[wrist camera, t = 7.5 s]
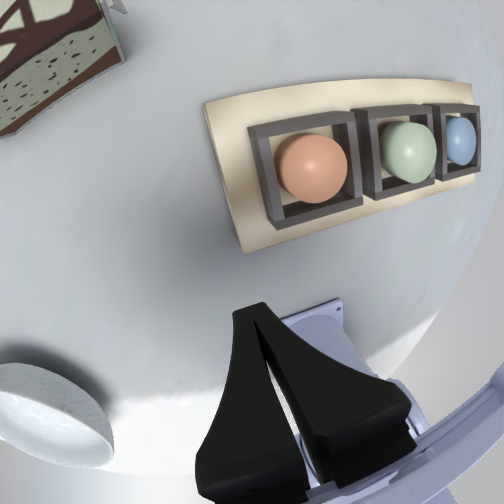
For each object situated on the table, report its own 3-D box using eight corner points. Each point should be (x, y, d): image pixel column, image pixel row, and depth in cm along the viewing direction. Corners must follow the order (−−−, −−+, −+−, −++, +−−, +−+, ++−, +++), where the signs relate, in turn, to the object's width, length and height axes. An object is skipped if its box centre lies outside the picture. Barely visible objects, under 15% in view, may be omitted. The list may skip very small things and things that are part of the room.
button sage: (420, 171, 18) (436, 177, 17) (380, 181, 18) (396, 188, 16) (417, 118, 16) (435, 121, 15) (375, 123, 16) (392, 126, 14)
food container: (121, -14, 11) (87, -91, 2) (147, 51, 14) (118, -6, 5) (-18, 81, 11) (-106, 87, 2) (3, 145, 14) (-88, 182, 5)
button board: (457, 175, 24) (488, 188, 20) (237, 239, 22) (251, 269, 18) (452, 82, 19) (487, 85, 15) (201, 104, 17) (208, 101, 13)
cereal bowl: (61, 432, 29) (56, 472, 22) (-26, 361, 20) (-44, 403, 14) (144, 410, 29) (146, 461, 23) (39, 316, 20) (14, 373, 14)
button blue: (461, 157, 20) (476, 162, 18) (435, 162, 19) (450, 168, 18) (460, 114, 18) (475, 117, 16) (433, 115, 17) (449, 118, 16)
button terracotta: (336, 186, 18) (350, 194, 17) (280, 201, 18) (290, 211, 16) (328, 127, 16) (342, 130, 15) (268, 139, 16) (277, 143, 14)
